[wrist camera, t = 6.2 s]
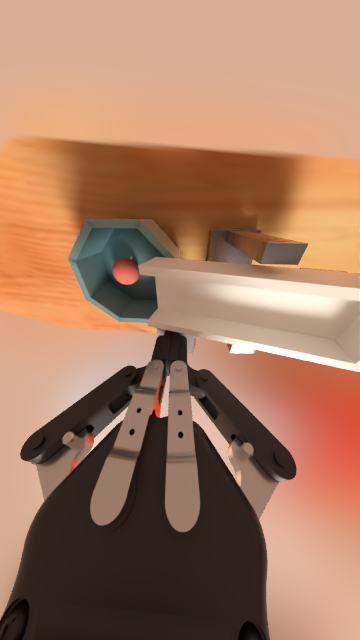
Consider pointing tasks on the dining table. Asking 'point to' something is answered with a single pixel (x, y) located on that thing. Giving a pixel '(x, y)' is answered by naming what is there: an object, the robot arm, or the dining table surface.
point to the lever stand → (252, 254)
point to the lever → (260, 308)
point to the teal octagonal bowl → (104, 250)
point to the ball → (125, 271)
